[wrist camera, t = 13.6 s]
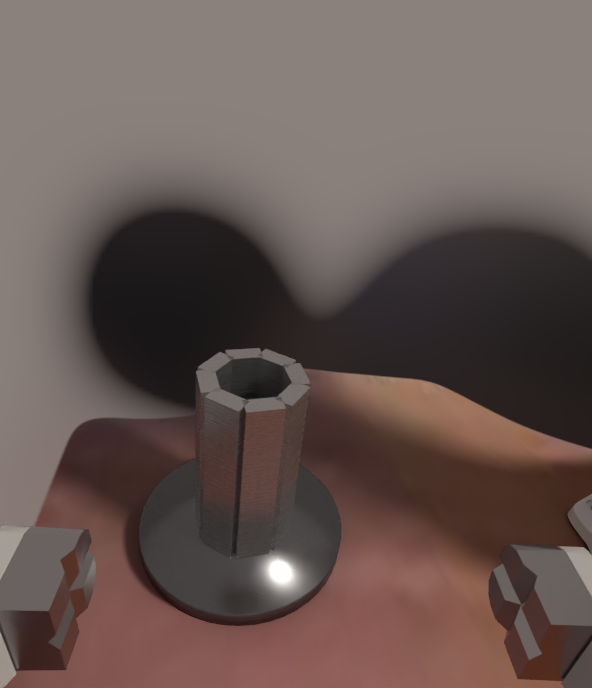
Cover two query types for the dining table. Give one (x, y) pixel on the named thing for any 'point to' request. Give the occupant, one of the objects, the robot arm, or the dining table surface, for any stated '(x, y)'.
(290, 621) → the dining table surface
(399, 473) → the dining table surface
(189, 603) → the grey pot lid
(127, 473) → the dining table surface
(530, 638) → the robot arm
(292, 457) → the octagonal pipe segment
